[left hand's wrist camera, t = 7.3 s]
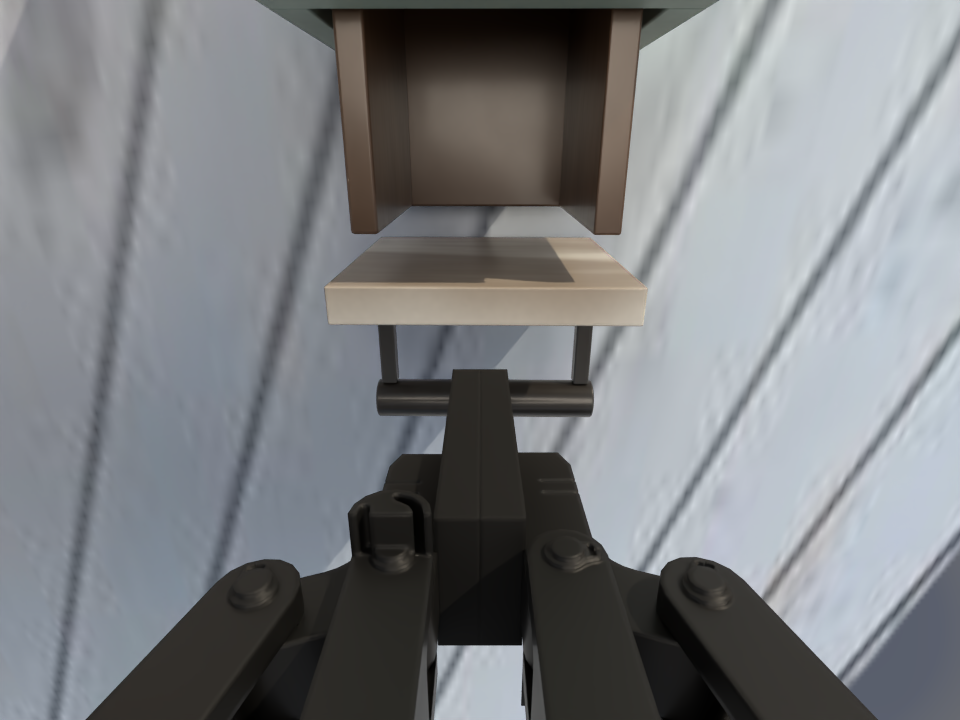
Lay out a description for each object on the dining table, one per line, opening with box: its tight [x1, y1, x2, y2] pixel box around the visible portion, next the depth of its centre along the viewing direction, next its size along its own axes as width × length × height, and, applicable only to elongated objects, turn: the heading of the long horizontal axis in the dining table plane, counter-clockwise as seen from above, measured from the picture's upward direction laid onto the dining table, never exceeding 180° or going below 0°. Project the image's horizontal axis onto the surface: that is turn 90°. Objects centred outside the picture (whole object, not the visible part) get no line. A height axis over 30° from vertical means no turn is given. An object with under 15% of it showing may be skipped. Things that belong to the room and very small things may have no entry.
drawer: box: [324, 8, 648, 417], centre depth 18 cm, size 24×10×9 cm, turn 0°
